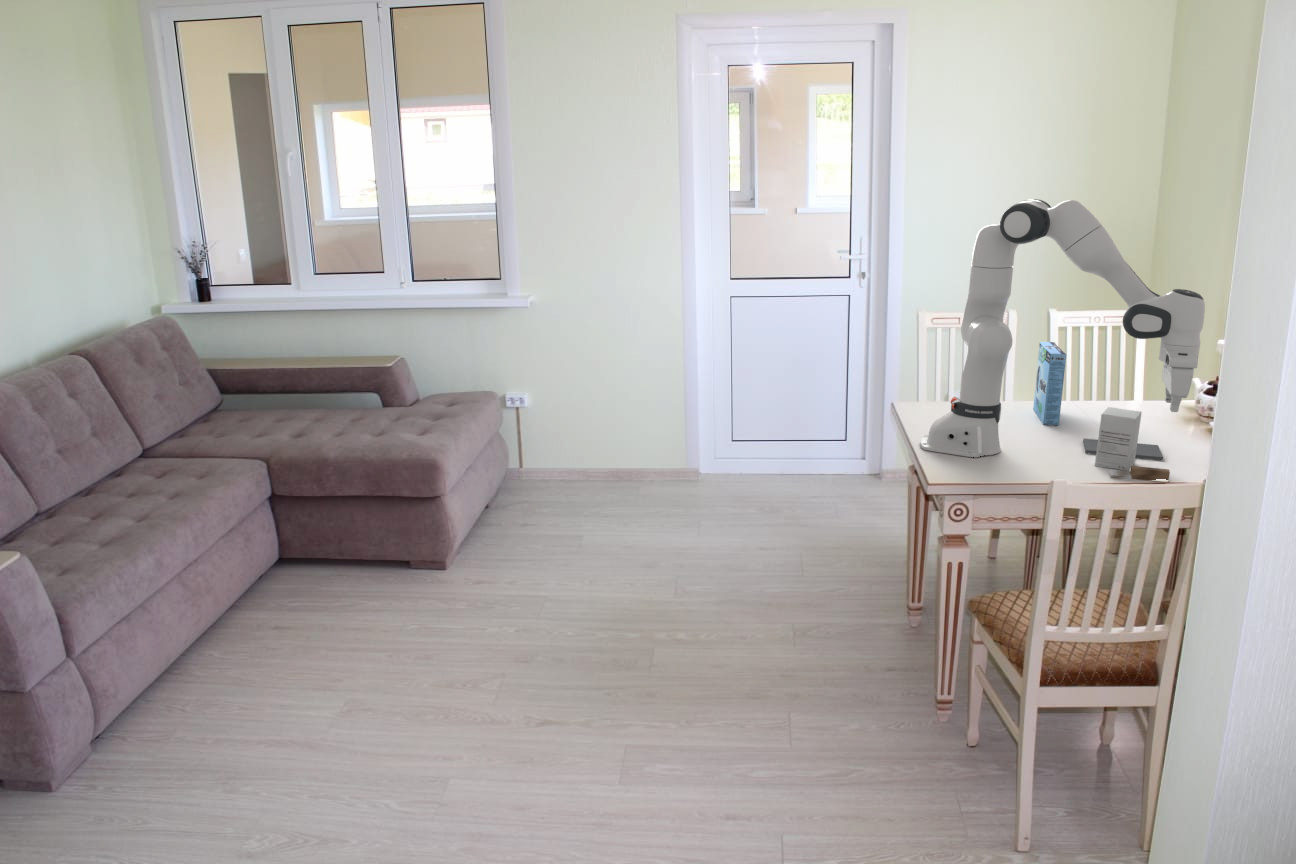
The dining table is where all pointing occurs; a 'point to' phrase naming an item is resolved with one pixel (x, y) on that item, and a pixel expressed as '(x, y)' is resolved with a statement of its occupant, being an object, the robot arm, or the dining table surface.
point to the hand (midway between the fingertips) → (1171, 406)
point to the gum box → (1049, 383)
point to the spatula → (1140, 473)
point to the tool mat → (1141, 452)
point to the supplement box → (1118, 438)
